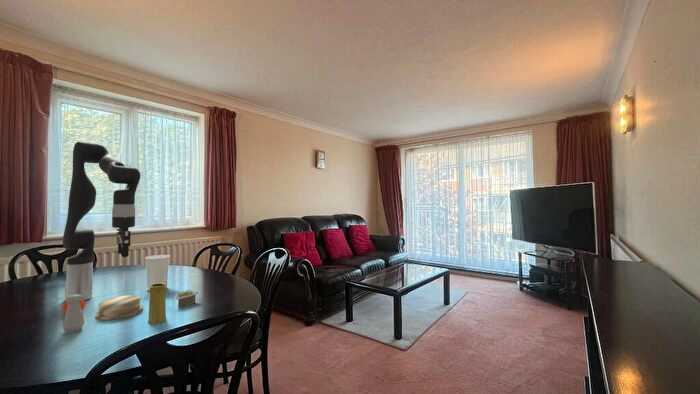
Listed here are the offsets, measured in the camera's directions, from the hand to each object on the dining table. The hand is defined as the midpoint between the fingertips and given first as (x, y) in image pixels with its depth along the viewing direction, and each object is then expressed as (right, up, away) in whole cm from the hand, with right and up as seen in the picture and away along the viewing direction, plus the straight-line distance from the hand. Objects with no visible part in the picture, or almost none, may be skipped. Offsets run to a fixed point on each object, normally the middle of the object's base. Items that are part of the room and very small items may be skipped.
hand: (123, 255), depth 122 cm
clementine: (-23, -25, +3) cm, 34 cm away
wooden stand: (-5, -25, +5) cm, 26 cm away
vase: (+16, -26, -3) cm, 30 cm away
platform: (+17, -26, +15) cm, 35 cm away
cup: (-10, -26, +37) cm, 46 cm away
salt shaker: (-8, -25, -13) cm, 30 cm away
